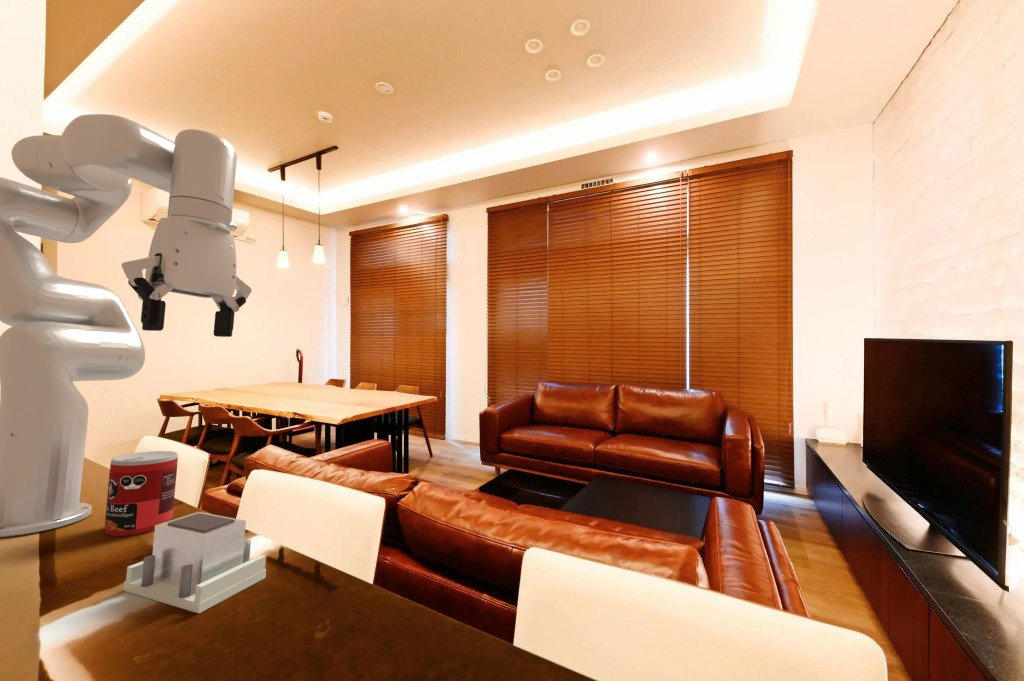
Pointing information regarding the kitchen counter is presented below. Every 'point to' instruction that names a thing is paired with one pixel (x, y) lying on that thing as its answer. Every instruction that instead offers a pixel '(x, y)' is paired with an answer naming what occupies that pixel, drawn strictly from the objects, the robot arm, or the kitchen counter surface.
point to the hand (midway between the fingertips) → (190, 333)
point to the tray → (205, 593)
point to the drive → (197, 547)
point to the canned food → (140, 492)
